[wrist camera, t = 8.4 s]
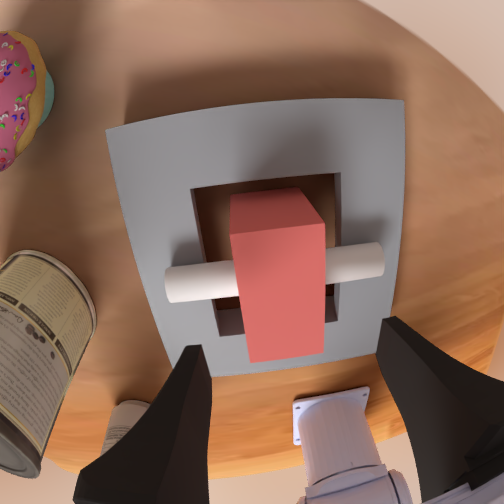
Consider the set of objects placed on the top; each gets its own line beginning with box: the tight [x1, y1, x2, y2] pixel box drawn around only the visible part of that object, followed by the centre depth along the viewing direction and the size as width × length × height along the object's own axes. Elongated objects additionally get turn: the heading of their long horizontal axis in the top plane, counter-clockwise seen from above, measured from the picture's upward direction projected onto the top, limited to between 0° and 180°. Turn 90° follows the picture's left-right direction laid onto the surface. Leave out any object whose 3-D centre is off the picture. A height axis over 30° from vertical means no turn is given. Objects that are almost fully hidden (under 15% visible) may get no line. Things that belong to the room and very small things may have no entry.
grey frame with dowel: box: [105, 98, 405, 377], centre depth 19 cm, size 18×16×5 cm
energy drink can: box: [100, 400, 151, 456], centre depth 22 cm, size 6×6×15 cm
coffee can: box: [0, 250, 96, 478], centre depth 16 cm, size 10×10×14 cm
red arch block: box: [229, 187, 325, 363], centre depth 17 cm, size 8×4×6 cm, turn 6°
